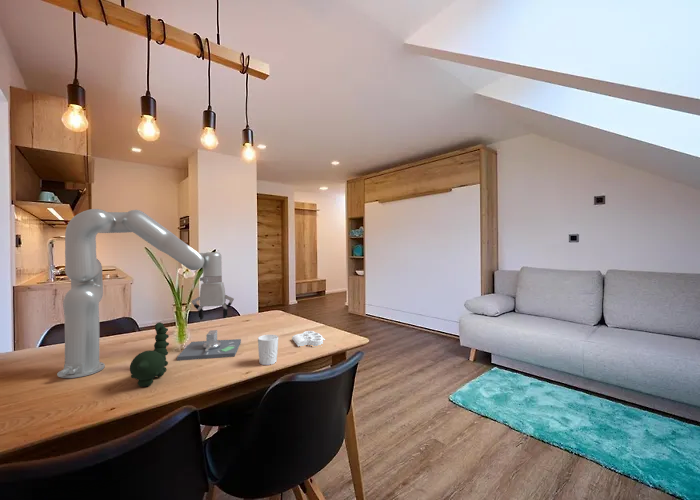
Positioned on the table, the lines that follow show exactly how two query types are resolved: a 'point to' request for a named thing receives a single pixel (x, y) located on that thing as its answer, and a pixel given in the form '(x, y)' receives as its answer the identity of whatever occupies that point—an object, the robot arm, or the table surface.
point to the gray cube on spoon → (211, 341)
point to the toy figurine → (151, 359)
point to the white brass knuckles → (308, 338)
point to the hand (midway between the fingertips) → (213, 318)
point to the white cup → (267, 349)
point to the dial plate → (197, 351)
